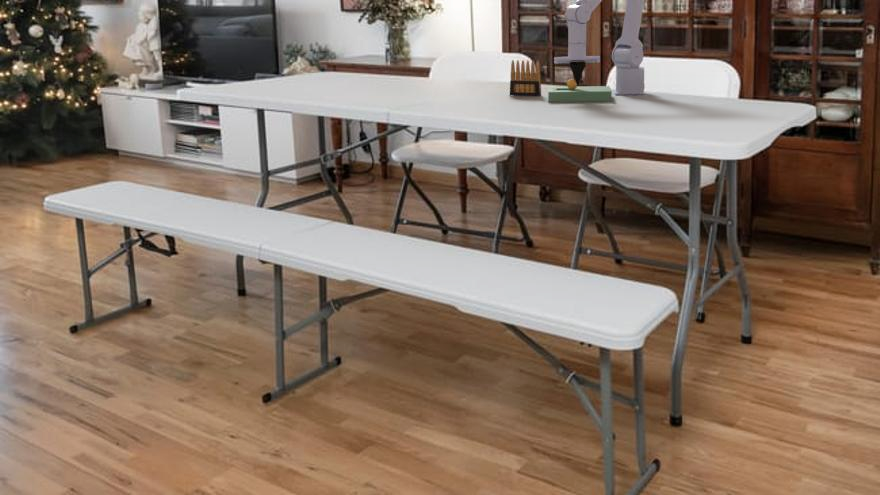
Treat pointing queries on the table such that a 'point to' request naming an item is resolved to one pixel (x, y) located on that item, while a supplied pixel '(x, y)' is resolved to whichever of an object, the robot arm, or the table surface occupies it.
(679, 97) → the table surface
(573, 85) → the ball
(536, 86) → the ammunition clip
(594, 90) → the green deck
